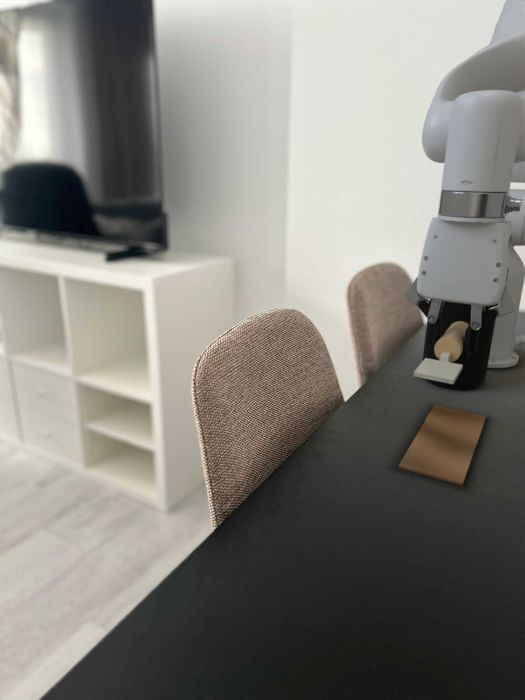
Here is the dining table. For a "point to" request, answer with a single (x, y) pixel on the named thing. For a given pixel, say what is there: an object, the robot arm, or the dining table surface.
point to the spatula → (445, 356)
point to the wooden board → (444, 445)
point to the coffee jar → (474, 365)
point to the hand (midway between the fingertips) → (450, 352)
